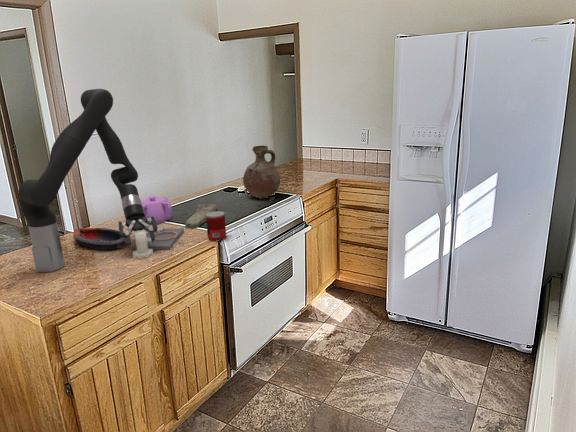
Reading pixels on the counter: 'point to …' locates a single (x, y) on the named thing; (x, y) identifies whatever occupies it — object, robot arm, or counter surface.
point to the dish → (99, 238)
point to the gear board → (163, 238)
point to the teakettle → (157, 209)
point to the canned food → (216, 225)
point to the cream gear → (141, 246)
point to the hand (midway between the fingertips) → (142, 242)
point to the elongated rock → (200, 215)
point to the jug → (262, 174)
